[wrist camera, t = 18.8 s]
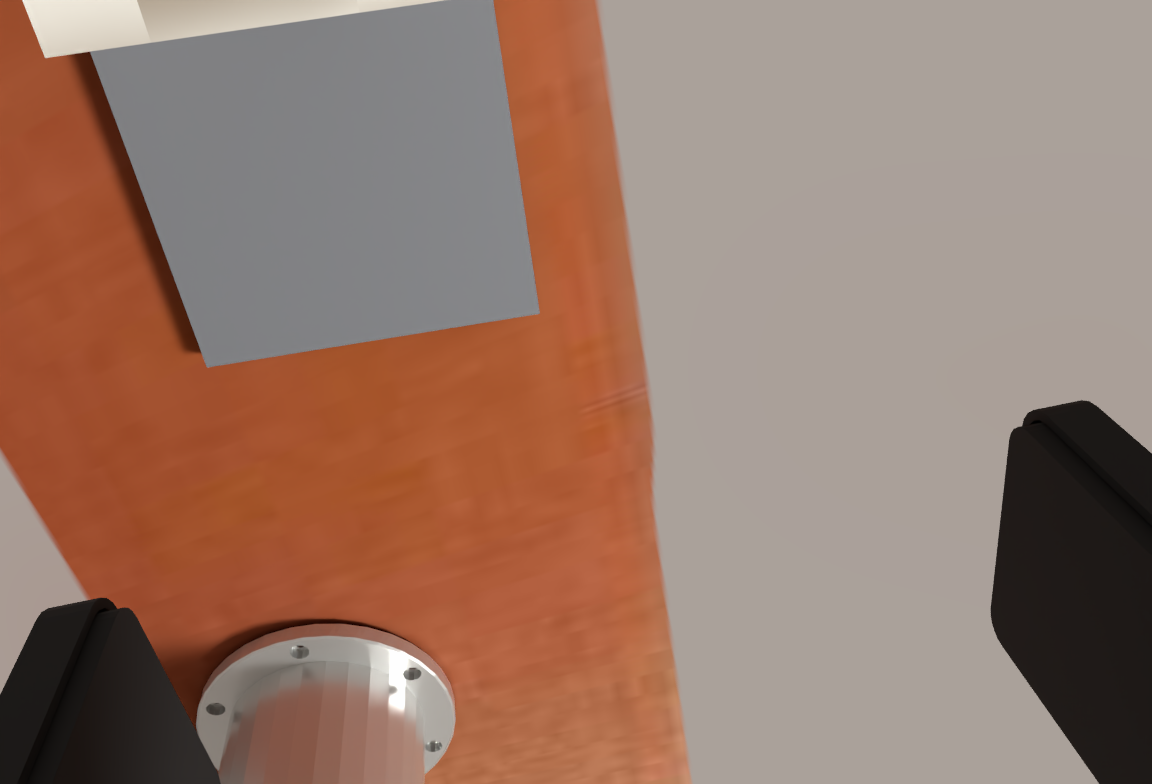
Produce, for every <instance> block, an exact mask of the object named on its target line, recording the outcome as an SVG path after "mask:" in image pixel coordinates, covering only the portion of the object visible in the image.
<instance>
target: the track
mask: <svg viewBox="0 0 1152 784" xmlns="http://www.w3.org/2000/svg"><path fill="white" fill-rule="evenodd" d="M90 53H91V56H92V59H93V61H94V64H95V67H96V69H97V72H98V75H99V77H100V80H101V83H102V86H103V88H104V91H105V94H106V96H107V99H108V102H109V104H110V107H111V110H112V113H113V115H114V118H115V121H116V123H117V126H118V129H119V131H120V134H121V137H122V139H123V142H124V145H125V148H126V150H127V153H128V156H129V158H130V161H131V164H132V166H133V169H134V172H135V175H136V177H137V180H138V183H139V185H140V188H141V191H142V193H143V196H144V199H145V202H146V204H147V207H148V210H149V212H150V215H151V218H152V220H153V223H154V226H155V229H156V231H157V234H158V237H159V239H160V242H161V245H162V247H163V250H164V253H165V256H166V258H167V261H168V264H169V266H170V269H171V272H172V274H173V277H174V280H175V283H176V285H177V288H178V291H179V293H180V296H181V299H182V301H183V304H184V307H185V310H186V312H187V315H188V318H189V320H190V323H191V326H192V328H193V331H194V334H195V337H196V339H197V342H198V345H199V347H200V350H201V353H202V355H203V358H204V361H205V364H206V366H207V367H212V366H219V365H225V364H231V363H237V362H243V361H250V360H256V359H262V358H268V357H274V356H281V355H287V354H293V353H299V352H305V351H312V350H318V349H324V348H330V347H336V346H343V345H349V344H355V343H361V342H367V341H374V340H380V339H386V338H392V337H398V336H405V335H411V334H417V333H423V332H429V331H436V330H442V329H448V328H454V327H460V326H466V325H473V324H479V323H485V322H491V321H497V320H504V319H510V318H516V317H522V316H528V315H535V314H540V312H539V305H538V299H537V292H536V285H535V278H534V272H533V265H532V258H531V252H530V245H529V238H528V231H527V225H526V218H525V211H524V205H523V198H522V191H521V184H520V178H519V171H518V164H517V158H516V151H515V144H514V137H513V131H512V124H511V117H510V111H509V104H508V97H507V90H506V84H505V77H504V70H503V64H502V57H501V50H500V43H499V37H498V30H497V23H496V17H495V10H494V3H493V0H444V1H438V2H431V3H424V4H417V5H410V6H403V7H396V8H389V9H382V10H375V11H368V12H361V13H354V14H347V15H340V16H333V17H326V18H319V19H312V20H306V21H299V22H292V23H285V24H278V25H271V26H264V27H257V28H250V29H243V30H236V31H229V32H222V33H215V34H208V35H201V36H194V37H187V38H180V39H174V40H167V41H160V42H153V43H146V44H139V45H132V46H125V47H118V48H111V49H104V50H97V51H90Z"/></svg>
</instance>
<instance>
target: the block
mask: <svg viewBox="0 0 1152 784" xmlns="http://www.w3.org/2000/svg"><path fill="white" fill-rule="evenodd" d="M438 1H444V0H23V3H24V6H25V8H26V11H27V13H28V16H29V18H30V21H31V23H32V26H33V28H34V31H35V33H36V36H37V38H38V41H39V43H40V46H41V48H42V51H43V54H44V56H45V58H48V57H55V56H62V55H69V54H76V53H83V52H90V51H97V50H104V49H111V48H118V47H125V46H132V45H139V44H146V43H153V42H160V41H167V40H174V39H180V38H187V37H194V36H201V35H208V34H215V33H222V32H229V31H236V30H243V29H250V28H257V27H264V26H271V25H278V24H285V23H292V22H299V21H306V20H312V19H319V18H326V17H333V16H340V15H347V14H354V13H361V12H368V11H375V10H382V9H389V8H396V7H403V6H410V5H417V4H424V3H431V2H438Z"/></svg>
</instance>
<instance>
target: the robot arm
mask: <svg viewBox="0 0 1152 784" xmlns="http://www.w3.org/2000/svg"><path fill="white" fill-rule="evenodd" d="M991 618H992V624H993V627H994V631H995V633H996V635H997V638H998V640H999V641H1000V643H1001V645H1002V646H1003V648H1004V649H1005V651H1006V652H1007V653H1008V655H1009V656H1010V658H1011V659H1012V661H1013V662H1014V663H1015V665H1016V666H1017V668H1018V669H1019V670H1020V672H1021V673H1022V675H1023V676H1024V678H1025V679H1026V680H1027V682H1028V683H1029V685H1030V686H1031V687H1032V689H1033V690H1034V692H1035V693H1036V694H1037V696H1038V697H1039V699H1040V700H1041V702H1042V703H1043V704H1044V706H1045V707H1046V709H1047V710H1048V712H1049V713H1050V714H1051V716H1052V717H1053V719H1054V720H1055V722H1056V723H1057V724H1058V726H1059V727H1060V728H1061V730H1062V731H1063V733H1064V734H1065V736H1066V737H1067V738H1068V740H1069V741H1070V743H1071V744H1072V746H1073V747H1074V748H1075V750H1076V751H1077V753H1078V754H1079V755H1080V757H1081V758H1082V760H1083V761H1084V763H1085V764H1086V765H1087V767H1088V768H1089V770H1090V771H1091V773H1092V774H1093V775H1094V777H1095V778H1096V779H1097V781H1098V782H1099V784H1152V453H1150V452H1149V451H1148V450H1147V449H1146V448H1145V447H1143V446H1142V445H1141V444H1140V443H1139V442H1138V441H1136V440H1135V439H1134V438H1133V437H1132V436H1131V435H1130V434H1128V433H1127V432H1126V431H1125V430H1124V429H1123V428H1121V427H1120V426H1119V425H1118V424H1117V423H1116V422H1115V421H1113V420H1112V419H1111V418H1110V417H1109V416H1108V415H1106V414H1105V413H1104V412H1103V411H1102V410H1101V409H1099V408H1098V407H1097V406H1096V405H1094V404H1092V403H1091V402H1089V401H1077V402H1071V403H1066V404H1061V405H1057V406H1052V407H1047V408H1042V409H1037V410H1033V411H1031V412H1029V413H1028V414H1027V415H1026V417H1025V418H1024V421H1023V425H1022V427H1017V428H1016V429H1014V430H1013V431H1012V433H1011V435H1010V439H1009V448H1008V456H1007V465H1006V475H1005V484H1004V493H1003V502H1002V511H1001V520H1000V530H999V538H998V547H997V557H996V565H995V575H994V584H993V594H992V602H991ZM454 726H455V699H454V695H453V691H452V688H451V684H450V682H449V681H448V679H447V677H446V675H445V674H444V672H443V670H442V669H441V668H440V667H439V665H438V664H437V663H436V662H435V661H434V660H433V659H432V658H431V657H430V656H429V655H428V654H426V653H425V652H423V651H422V650H421V649H419V648H418V647H416V646H415V645H413V644H412V643H410V642H408V641H406V640H403V639H401V638H399V637H397V636H395V635H393V634H390V633H387V632H383V631H379V630H376V629H372V628H369V627H363V626H355V625H348V624H312V625H305V626H298V627H291V628H287V629H284V630H280V631H277V632H273V633H270V634H267V635H264V636H262V637H260V638H258V639H256V640H254V641H251V642H249V643H247V644H245V645H244V646H242V647H241V648H239V649H238V650H236V651H235V652H234V653H232V654H231V655H229V656H228V657H227V658H226V659H225V660H224V661H223V662H222V663H221V664H220V665H219V666H218V667H217V668H216V669H215V670H214V671H213V673H212V674H211V676H210V678H209V680H208V681H207V683H206V685H205V686H204V689H203V692H202V696H201V700H200V703H199V707H198V712H197V721H196V729H197V732H196V730H195V728H194V726H193V724H192V722H191V721H190V719H189V717H188V715H187V713H186V711H185V709H184V707H183V705H182V703H181V701H180V700H179V698H178V696H177V694H176V692H175V690H174V688H173V686H172V684H171V682H170V680H169V678H168V677H167V675H166V673H165V671H164V669H163V667H162V665H161V663H160V661H159V659H158V657H157V655H156V654H155V652H154V650H153V648H152V646H151V644H150V642H149V640H148V638H147V636H146V634H145V633H144V631H143V629H142V627H141V625H140V623H139V621H138V619H137V617H136V616H135V614H134V613H133V611H132V610H130V609H129V608H120V609H117V608H116V606H115V605H114V603H113V602H111V601H110V600H109V599H107V598H97V599H92V600H87V601H82V602H77V603H72V604H67V605H63V606H57V607H53V608H48V609H46V610H45V611H43V612H41V614H40V615H39V617H38V618H37V620H36V622H35V624H34V626H33V628H32V630H31V632H30V634H29V636H28V638H27V640H26V642H25V645H24V647H23V649H22V651H21V653H20V655H19V657H18V659H17V661H16V663H15V665H14V668H13V669H12V671H11V673H10V676H9V678H8V680H7V682H6V684H5V686H4V688H3V691H2V692H1V694H0V784H425V774H426V773H427V772H428V771H429V770H430V769H432V768H433V767H434V766H435V765H436V764H437V762H438V761H439V760H440V758H441V757H442V756H443V755H444V753H445V752H446V750H447V748H448V746H449V744H450V741H451V739H452V737H453V733H454ZM216 769H217V770H218V771H219V772H218V773H217V770H216Z"/></svg>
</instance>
